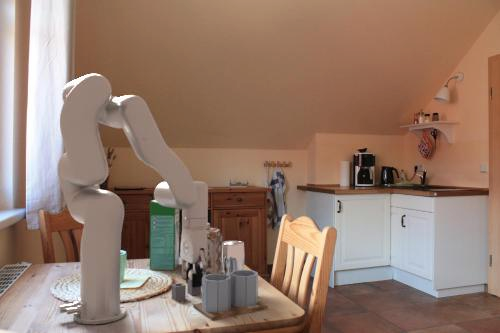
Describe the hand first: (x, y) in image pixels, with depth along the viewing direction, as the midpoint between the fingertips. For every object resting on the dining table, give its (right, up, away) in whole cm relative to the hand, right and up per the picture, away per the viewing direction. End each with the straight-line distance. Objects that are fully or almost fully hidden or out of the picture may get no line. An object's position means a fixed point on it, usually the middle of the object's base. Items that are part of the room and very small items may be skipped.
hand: (194, 284), depth 125 cm
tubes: (+11, -3, -12) cm, 17 cm away
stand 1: (-4, -3, -5) cm, 7 cm away
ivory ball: (0, +1, 0) cm, 1 cm away
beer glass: (+11, -3, +1) cm, 12 cm away
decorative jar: (0, -3, +20) cm, 20 cm away
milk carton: (-15, -3, +32) cm, 35 cm away
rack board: (+11, -3, -12) cm, 17 cm away
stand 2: (0, -3, 0) cm, 3 cm away
